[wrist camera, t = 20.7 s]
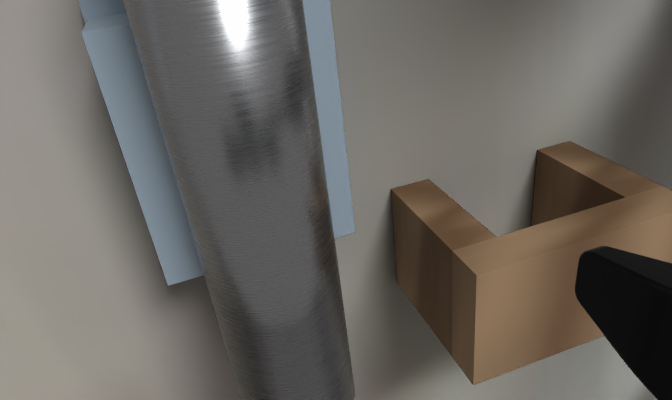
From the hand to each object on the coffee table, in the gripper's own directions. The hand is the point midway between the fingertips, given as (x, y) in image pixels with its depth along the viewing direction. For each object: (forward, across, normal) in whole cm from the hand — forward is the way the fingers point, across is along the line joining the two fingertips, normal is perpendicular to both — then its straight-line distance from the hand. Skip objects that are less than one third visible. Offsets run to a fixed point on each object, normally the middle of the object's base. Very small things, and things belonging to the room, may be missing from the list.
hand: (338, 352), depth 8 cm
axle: (+7, 0, 0) cm, 7 cm away
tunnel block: (+12, -10, +7) cm, 17 cm away
